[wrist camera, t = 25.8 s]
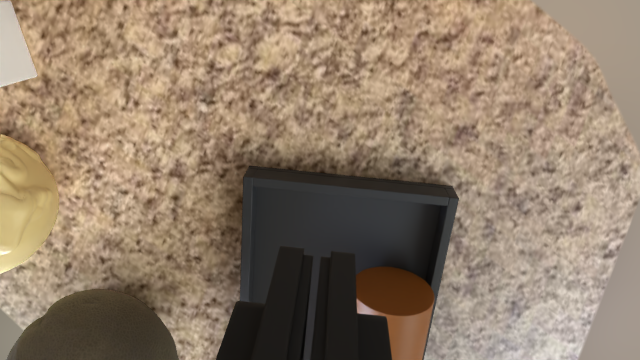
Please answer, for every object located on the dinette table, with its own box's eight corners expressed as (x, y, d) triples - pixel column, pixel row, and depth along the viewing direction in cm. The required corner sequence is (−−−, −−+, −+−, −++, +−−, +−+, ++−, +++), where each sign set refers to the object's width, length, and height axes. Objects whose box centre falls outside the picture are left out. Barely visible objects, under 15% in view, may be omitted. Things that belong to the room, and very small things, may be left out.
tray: (452, 185, 40) (459, 198, 38) (393, 464, 54) (395, 486, 51) (249, 165, 41) (243, 176, 38) (240, 447, 54) (235, 468, 51)
